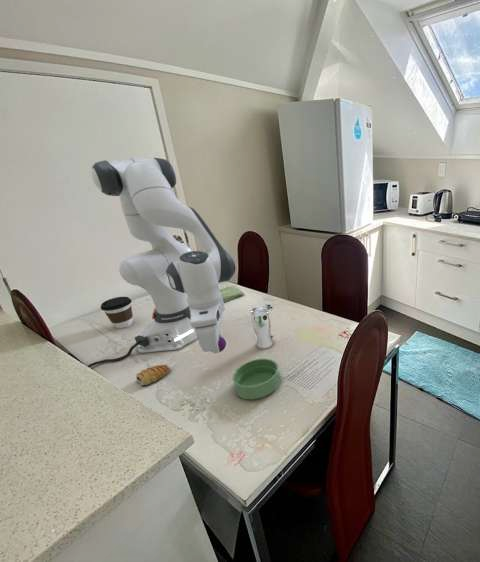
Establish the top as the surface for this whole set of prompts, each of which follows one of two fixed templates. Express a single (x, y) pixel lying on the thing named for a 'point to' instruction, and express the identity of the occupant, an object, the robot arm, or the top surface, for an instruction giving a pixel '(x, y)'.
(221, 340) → the ball
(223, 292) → the washcloth
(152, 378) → the pastry
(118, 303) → the coffee cup
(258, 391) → the bowl
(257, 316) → the beer glass
